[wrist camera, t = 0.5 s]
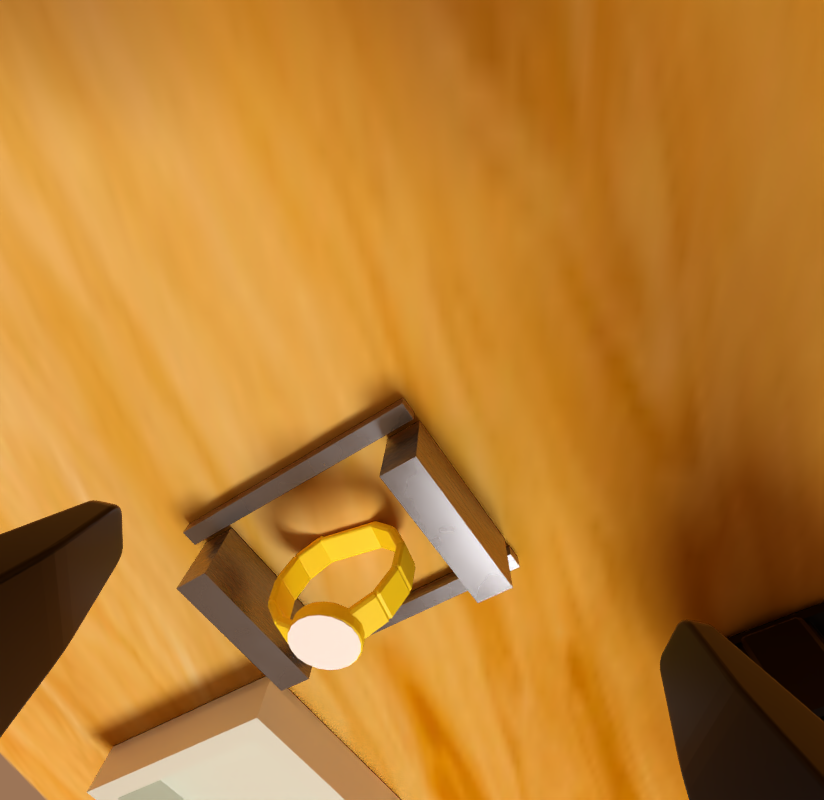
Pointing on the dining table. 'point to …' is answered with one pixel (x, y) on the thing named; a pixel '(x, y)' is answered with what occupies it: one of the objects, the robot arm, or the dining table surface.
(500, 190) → the dining table surface
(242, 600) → the grey rectangular open frame
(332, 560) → the watch
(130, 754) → the parts tray
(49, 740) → the dining table surface
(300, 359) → the dining table surface
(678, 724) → the robot arm
